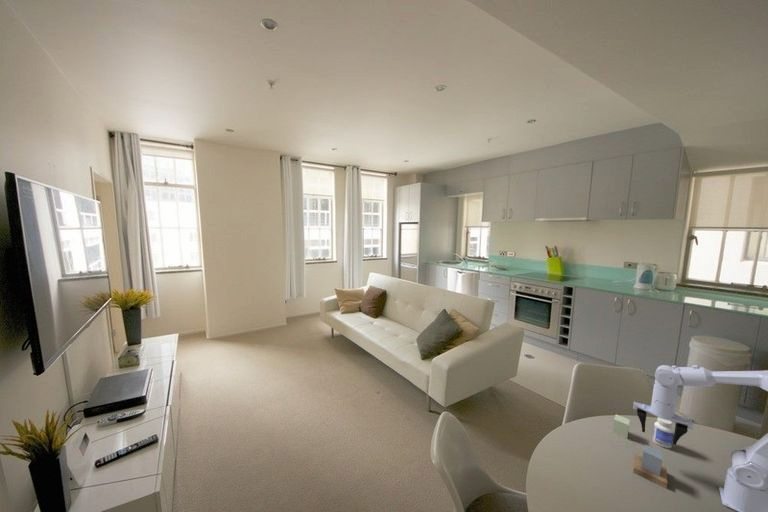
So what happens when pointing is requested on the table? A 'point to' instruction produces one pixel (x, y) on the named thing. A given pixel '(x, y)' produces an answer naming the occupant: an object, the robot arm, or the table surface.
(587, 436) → the table surface
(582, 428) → the table surface
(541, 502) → the table surface
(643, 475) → the walnut block
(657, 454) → the slate block
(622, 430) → the sage block
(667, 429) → the pill bottle
